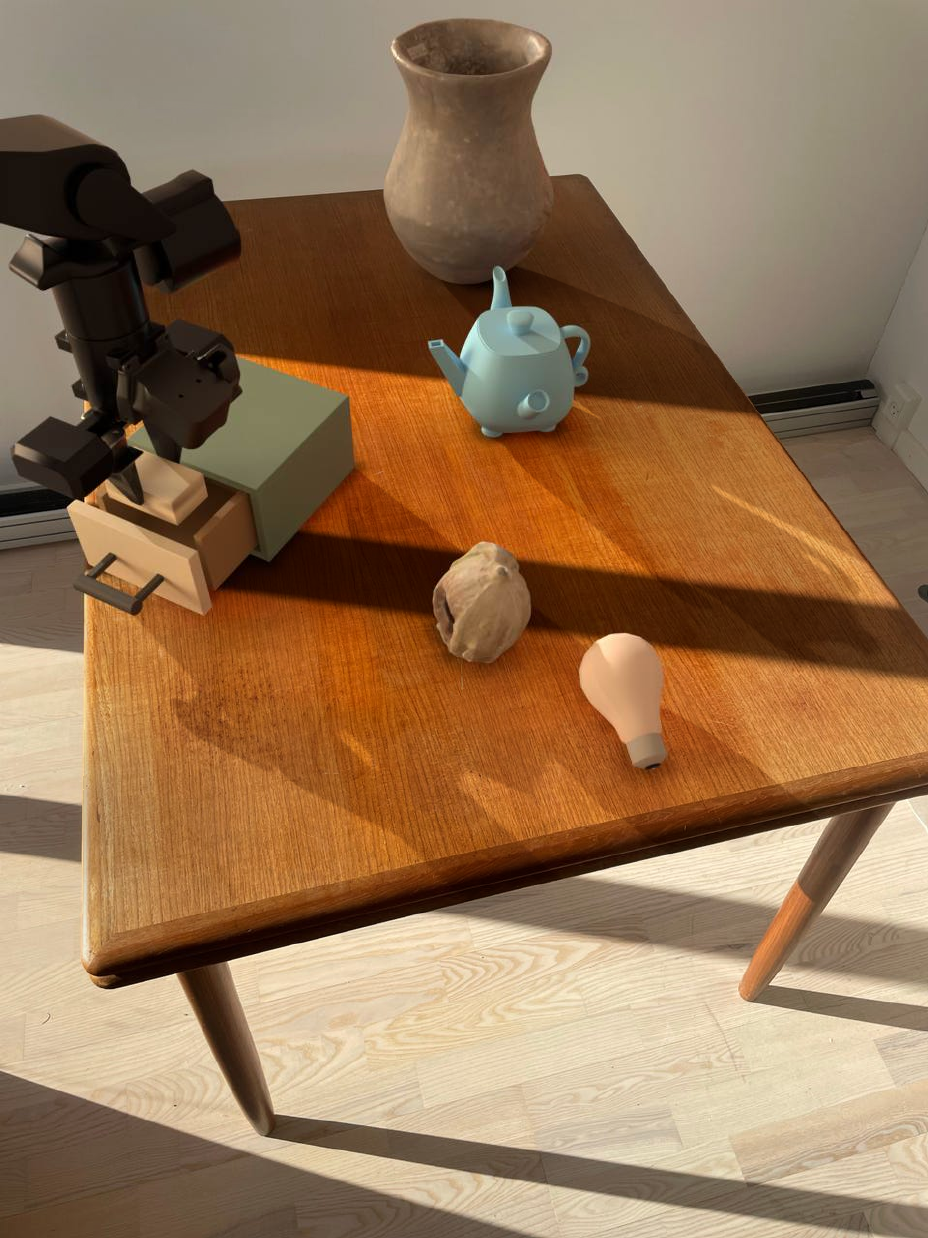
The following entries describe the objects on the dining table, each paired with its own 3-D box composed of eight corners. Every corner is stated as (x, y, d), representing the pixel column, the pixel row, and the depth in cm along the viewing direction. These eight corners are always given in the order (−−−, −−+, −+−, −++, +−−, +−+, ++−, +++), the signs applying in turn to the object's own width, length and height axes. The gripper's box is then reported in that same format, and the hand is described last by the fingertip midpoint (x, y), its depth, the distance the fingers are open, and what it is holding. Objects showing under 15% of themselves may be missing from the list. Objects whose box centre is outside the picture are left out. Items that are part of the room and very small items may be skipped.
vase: (372, 303, 113) (361, 74, 94) (400, 223, 126) (395, 6, 107) (540, 319, 112) (563, 91, 93) (551, 237, 125) (573, 20, 105)
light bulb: (701, 746, 69) (651, 610, 73) (613, 771, 69) (568, 633, 73) (690, 767, 75) (645, 640, 79) (609, 790, 75) (568, 661, 79)
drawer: (171, 651, 78) (152, 596, 73) (53, 597, 82) (28, 540, 77) (294, 518, 89) (286, 460, 84) (185, 474, 92) (170, 416, 87)
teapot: (412, 413, 100) (411, 317, 92) (491, 354, 108) (497, 260, 99) (532, 477, 95) (543, 380, 86) (608, 409, 102) (624, 314, 93)
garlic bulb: (467, 616, 86) (474, 513, 81) (550, 648, 82) (563, 541, 77) (403, 660, 79) (407, 549, 74) (490, 697, 75) (500, 583, 70)
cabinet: (269, 562, 86) (256, 490, 80) (148, 511, 90) (125, 438, 84) (355, 467, 95) (349, 395, 88) (240, 424, 99) (227, 352, 92)
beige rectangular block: (208, 496, 80) (202, 473, 78) (177, 526, 77) (171, 503, 75) (140, 469, 82) (133, 445, 80) (108, 497, 79) (101, 474, 77)
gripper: (107, 428, 59) (161, 598, 71) (280, 285, 70) (302, 453, 82) (-30, 375, 62) (44, 546, 74) (157, 246, 73) (195, 413, 85)
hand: (155, 487), depth 79 cm, fingers closed on beige rectangular block, 4 cm apart
